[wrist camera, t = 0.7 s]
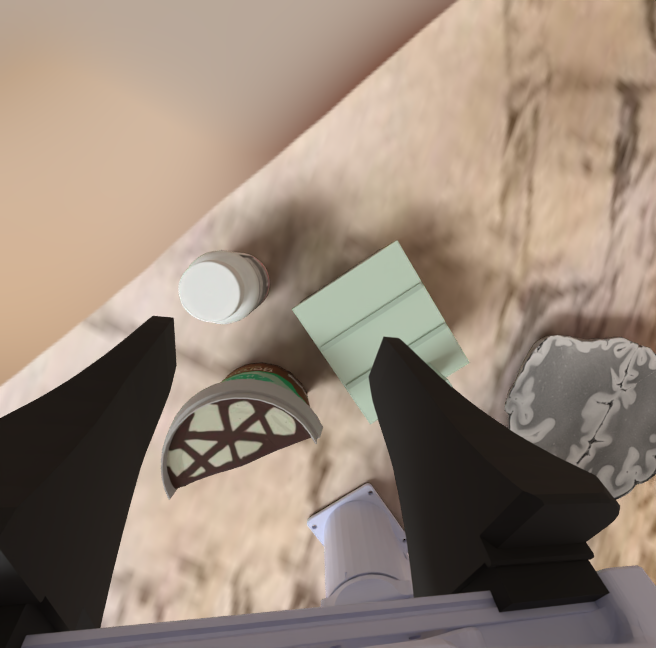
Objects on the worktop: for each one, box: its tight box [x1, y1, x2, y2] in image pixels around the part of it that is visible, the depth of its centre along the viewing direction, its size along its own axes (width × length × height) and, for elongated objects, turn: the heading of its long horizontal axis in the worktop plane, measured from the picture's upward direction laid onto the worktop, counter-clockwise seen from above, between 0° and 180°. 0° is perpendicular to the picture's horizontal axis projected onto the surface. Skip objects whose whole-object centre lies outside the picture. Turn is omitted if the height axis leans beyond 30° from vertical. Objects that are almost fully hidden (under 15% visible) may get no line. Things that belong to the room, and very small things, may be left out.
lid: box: [292, 240, 469, 424], centre depth 25 cm, size 12×10×5 cm
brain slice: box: [505, 335, 656, 500], centre depth 34 cm, size 20×17×3 cm
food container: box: [161, 363, 323, 499], centre depth 28 cm, size 12×6×10 cm, turn 111°
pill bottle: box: [179, 250, 270, 324], centre depth 26 cm, size 5×5×10 cm
